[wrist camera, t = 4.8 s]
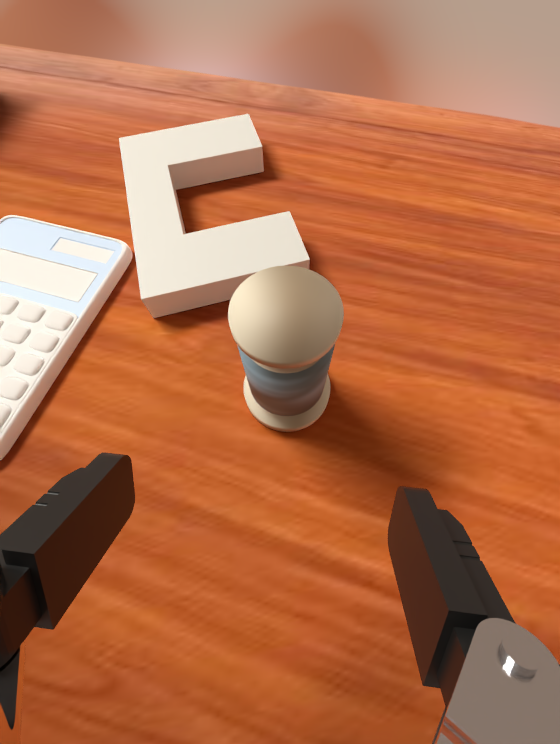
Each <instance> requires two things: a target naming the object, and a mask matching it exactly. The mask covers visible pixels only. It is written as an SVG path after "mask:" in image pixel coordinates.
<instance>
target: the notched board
mask: <svg viewBox="0 0 560 744" xmlns="http://www.w3.org/2000/svg"><path fill="white" fill-rule="evenodd" d="M119 142H120V149H121V156H122V164H123V171H124V178H125V185H126V193H127V200H128V207H129V214H130V221H131V229H132V236H133V243H134V250H135V257H136V265H137V272H138V279H139V286H140V293H141V300H142V301H143V303H144V304H145V306H146V307H147V309H148V311H149V312H150V314H151V315H152V317H153V318H157V317H161V316H165V315H169V314H173V313H177V312H182V311H186V310H190V309H194V308H198V307H202V306H206V305H210V304H215V303H219V302H223V301H227V300H231V298H232V296H233V294H234V292H235V291H236V289H237V288H238V287H239V285H240V284H241V283H242V282H243V281H245V280H246V279H247V278H248V277H250V276H251V275H253V274H255V273H256V272H259V271H261V270H263V269H267V268H270V267H275V266H298V267H302V268H306V269H309V264H310V258H309V256H308V254H307V251H306V249H305V247H304V244H303V242H302V239H301V237H300V235H299V232H298V230H297V228H296V225H295V223H294V220H293V218H292V216H291V213H290V211H288V212H283V213H278V214H274V215H269V216H265V217H260V218H256V219H251V220H247V221H242V222H238V223H233V224H228V225H224V226H219V227H215V228H210V229H206V230H201V231H197V232H192V233H188V234H186V232H185V228H184V223H183V219H182V215H181V210H180V206H179V202H178V197H177V193H176V190H178V189H182V188H187V187H192V186H197V185H202V184H207V183H212V182H216V181H221V180H226V179H231V178H236V177H241V176H245V175H250V174H255V173H260V172H264V165H263V150H262V145H261V142H260V140H259V137H258V135H257V133H256V130H255V128H254V126H253V123H252V121H251V119H250V116H249V114H245V115H239V116H234V117H229V118H223V119H218V120H213V121H208V122H202V123H197V124H192V125H186V126H181V127H176V128H170V129H165V130H160V131H154V132H149V133H144V134H138V135H133V136H128V137H123V138H119Z"/></svg>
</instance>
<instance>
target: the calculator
mask: <svg viewBox="0 0 560 744" xmlns="http://www.w3.org/2000/svg"><path fill="white" fill-rule="evenodd" d="M132 257H133V256H132V251H131V249H130V247H129V246H128V245H127V244H126V243H125V242H123V241H121V240H118V239H114V238H110V237H106V236H102V235H98V234H94V233H90V232H85V231H81V230H77V229H73V228H69V227H64V226H60V225H56V224H52V223H48V222H44V221H39V220H35V219H31V218H27V217H22V216H17V215H9V216H5V217H3V218H2V219H0V461H1V460H2V459H3V458H4V456H5V455H6V454H7V453H8V452H9V450H10V449H11V447H12V446H13V444H14V443H15V441H16V440H17V438H18V437H19V435H20V434H21V432H22V431H23V429H24V428H25V426H26V424H27V423H28V421H29V420H30V418H31V417H32V415H33V414H34V412H35V410H36V409H37V407H38V406H39V404H40V403H41V401H42V400H43V398H44V396H45V395H46V393H47V392H48V390H49V389H50V387H51V386H52V384H53V383H54V381H55V379H56V378H57V376H58V375H59V373H60V372H61V370H62V369H63V367H64V365H65V364H66V362H67V361H68V359H69V358H70V356H71V355H72V353H73V351H74V350H75V348H76V347H77V345H78V344H79V342H80V341H81V339H82V337H83V336H84V334H85V333H86V331H87V330H88V328H89V327H90V325H91V323H92V322H93V320H94V319H95V317H96V316H97V314H98V313H99V311H100V309H101V308H102V306H103V305H104V303H105V302H106V300H107V299H108V297H109V295H110V294H111V292H112V291H113V289H114V288H115V286H116V285H117V283H118V281H119V280H120V278H121V277H122V275H123V274H124V272H125V271H126V269H127V267H128V265H129V264H130V262H131V260H132ZM32 348H33V349H32ZM24 380H25V381H24ZM1 396H2V397H1ZM2 403H3V404H2ZM5 404H6V405H5Z"/></svg>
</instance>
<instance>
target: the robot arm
mask: <svg viewBox="0 0 560 744" xmlns="http://www.w3.org/2000/svg"><path fill="white" fill-rule="evenodd" d="M134 503H135V491H134V482H133V472H132V463H131V458H130V457H129V456H128V455H121V454H112V453H101V454H99V455H98V456H97V457H96V458H95V459H94V460H93V461H92V462H91V463H90V464H89V465H88V466H87V467H86V468H79V469H77V470H76V471H74V472H72V473H70V474H68V475H67V476H65V477H63V478H61V479H60V480H59V481H58V482H57V483H56V484H55V485H54V486H53V487H52V488H51V489H50V490H48V493H47V494H44V495H43V496H42V497H41V498H40V499H39V500H38V501H37V502H36V504H35V505H32V506H31V507H30V508H29V509H28V510H27V511H26V512H25V513H23V514H22V515H21V516H20V517H19V518H18V519H17V520H16V521H15V522H14V523H13V524H12V525H10V526H9V527H8V528H7V529H6V530H5V531H4V532H3V533H2V534H1V535H0V744H21V742H20V735H21V717H22V700H23V682H24V665H25V643H24V640H25V639H26V637H27V636H28V634H29V633H30V632H31V630H32V629H33V628H34V627H39V628H46V629H54V628H55V626H56V625H57V624H58V622H59V621H60V619H61V618H62V616H63V615H64V613H65V612H66V610H67V609H68V607H69V606H70V604H71V603H72V601H73V600H74V598H75V597H76V596H77V594H78V593H79V591H80V590H81V588H82V587H83V585H84V584H85V582H86V581H87V579H88V578H89V576H90V575H91V573H92V572H93V570H94V569H95V568H96V566H97V565H98V563H99V562H100V560H101V559H102V557H103V556H104V554H105V553H106V551H107V550H108V548H109V547H110V545H111V544H112V542H113V541H114V540H115V538H116V537H117V535H118V534H119V532H120V531H121V529H122V528H123V526H124V525H125V523H126V522H127V520H128V519H129V517H130V515H131V513H132V510H133V507H134ZM388 547H389V552H390V556H391V560H392V564H393V568H394V572H395V576H396V580H397V584H398V588H399V592H400V596H401V600H402V604H403V608H404V612H405V616H406V620H407V624H408V628H409V632H410V636H411V640H412V644H413V648H414V652H415V656H416V660H417V664H418V668H419V672H420V676H421V680H422V684H423V686H429V687H436V688H441V692H442V695H443V699H444V702H445V709H444V711H443V714H442V717H441V719H440V722H439V725H438V728H437V730H436V733H435V736H434V739H433V741H432V744H560V665H559V664H558V662H557V661H556V659H555V658H554V656H553V655H552V653H551V652H550V651H549V650H548V649H547V648H546V646H545V645H544V644H543V643H542V642H541V641H540V640H539V639H537V638H536V637H535V636H534V635H533V634H531V633H530V632H529V631H527V630H526V629H524V628H522V627H521V626H519V625H517V624H516V623H515V622H514V620H513V618H512V616H511V615H510V613H509V611H508V609H507V607H506V605H505V603H504V602H503V600H502V598H501V596H500V594H499V592H498V590H497V589H496V587H495V585H494V583H493V581H492V579H491V577H490V575H489V574H488V572H487V570H486V568H485V566H484V564H483V562H482V561H480V557H479V555H478V553H477V551H476V549H475V548H474V546H472V542H471V540H470V538H469V536H468V535H467V533H466V531H465V529H464V527H463V525H462V524H461V523H460V522H459V521H458V520H457V519H456V518H455V517H454V516H453V515H451V514H450V513H449V512H448V511H447V510H440V509H437V507H436V505H435V503H434V501H433V498H432V496H431V494H430V492H429V491H428V490H427V489H421V488H412V487H403V486H399V487H398V489H397V492H396V497H395V501H394V505H393V510H392V514H391V519H390V523H389V528H388Z"/></svg>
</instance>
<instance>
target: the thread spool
mask: <svg viewBox="0 0 560 744" xmlns="http://www.w3.org/2000/svg"><path fill="white" fill-rule="evenodd" d="M343 316H344V312H343V304H342V301H341V298H340V296H339V294H338V292H337V290H336V289H335V288H334V286H333V285H332V284H331V283H330V282H329V281H328V280H327V279H325V278H324V277H323V276H321V275H320V274H318V273H316V272H314V271H312V270H309V269H306V268H302V267H298V266H275V267H270V268H267V269H263V270H261V271H259V272H256V273H255V274H253V275H251V276H250V277H248V278H247V279H246V280H245V281H243V282H242V283H241V284H240V285H239V287H238V288H237V289H236V291H235V292H234V294H233V296H232V298H231V300H230V304H229V309H228V321H229V326H230V329H231V332H232V335H233V338H234V340H235V342H236V344H237V345H238V349H239V352H240V356H241V359H242V363H243V366H244V370H245V373H246V376H245V380H244V396H245V399H246V402H247V405H248V408H249V410H250V412H251V413H252V415H253V416H254V417H255V418H256V419H257V420H258V421H259V422H260V423H261V424H263V425H264V426H266V427H268V428H270V429H273V430H276V431H281V432H293V431H298V430H301V429H304V428H306V427H308V426H310V425H312V424H313V423H314V422H315V421H317V420H318V419H319V417H320V416H321V415H322V414H323V412H324V410H325V408H326V406H327V403H328V400H329V396H330V379H329V376H328V370H329V366H330V362H331V358H332V354H333V350H334V346H335V343H336V341H337V339H338V337H339V334H340V331H341V327H342V323H343Z"/></svg>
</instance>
